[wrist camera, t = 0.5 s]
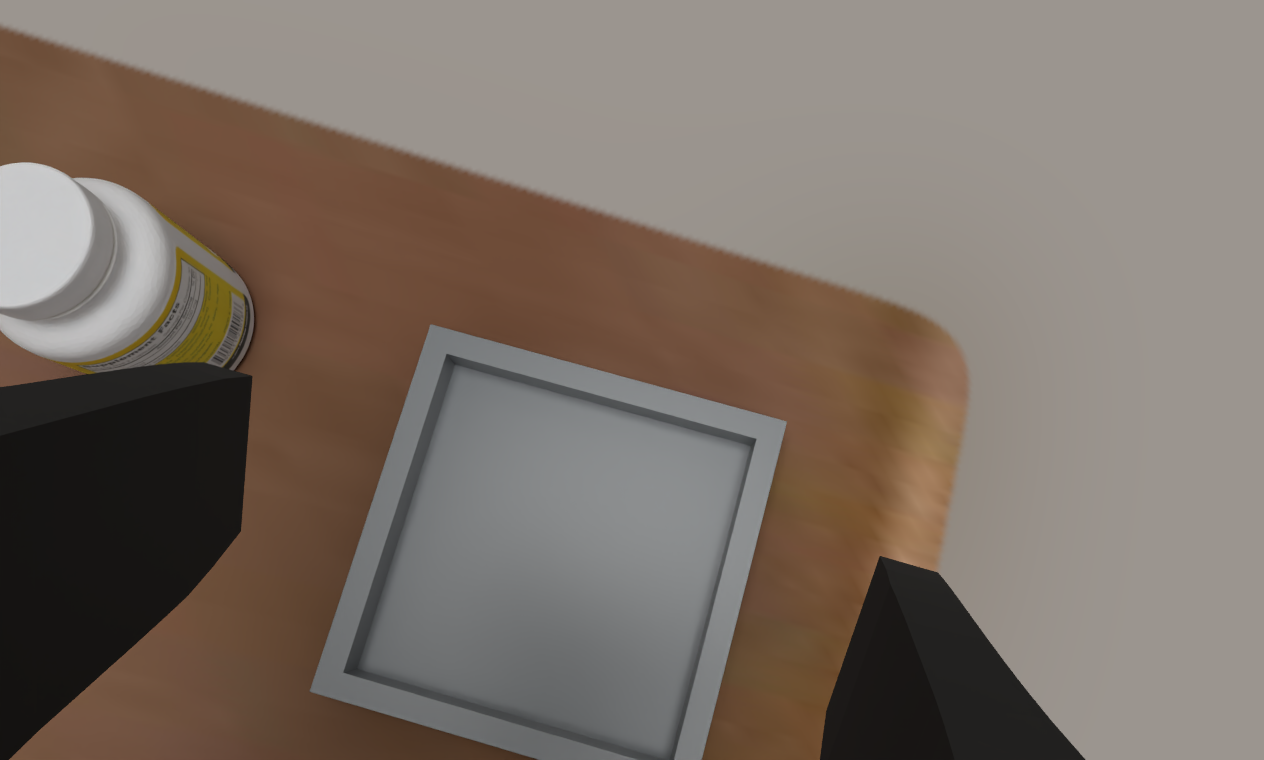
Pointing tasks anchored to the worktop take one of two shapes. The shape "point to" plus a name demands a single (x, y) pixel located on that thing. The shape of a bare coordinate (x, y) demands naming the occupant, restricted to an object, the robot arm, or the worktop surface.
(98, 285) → the supplement bottle
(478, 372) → the tray
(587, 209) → the worktop surface
